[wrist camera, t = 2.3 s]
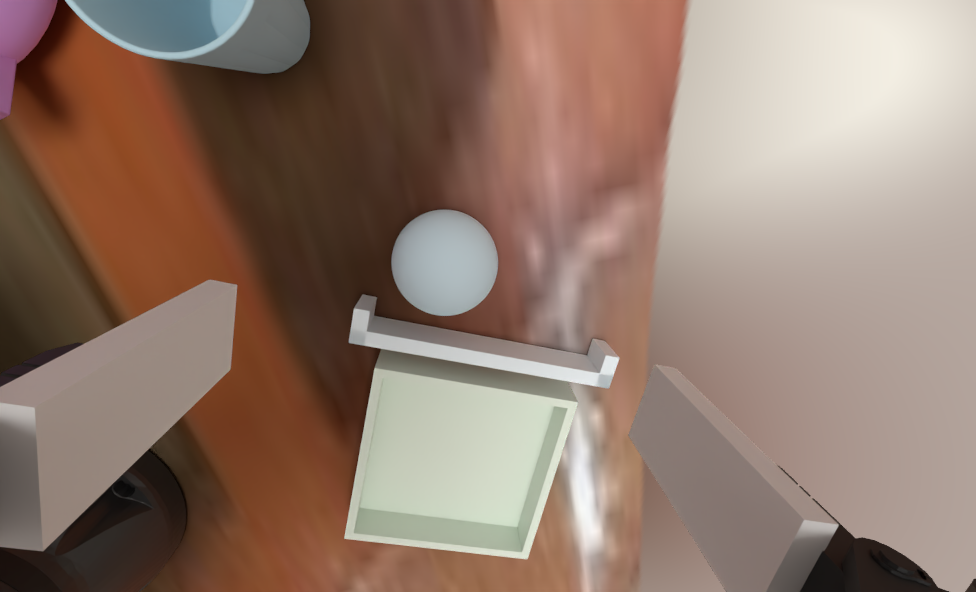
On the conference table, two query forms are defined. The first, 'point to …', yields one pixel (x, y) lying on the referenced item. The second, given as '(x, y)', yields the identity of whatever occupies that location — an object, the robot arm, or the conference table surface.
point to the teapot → (19, 39)
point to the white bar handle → (481, 348)
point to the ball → (444, 262)
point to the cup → (205, 30)
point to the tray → (457, 455)
